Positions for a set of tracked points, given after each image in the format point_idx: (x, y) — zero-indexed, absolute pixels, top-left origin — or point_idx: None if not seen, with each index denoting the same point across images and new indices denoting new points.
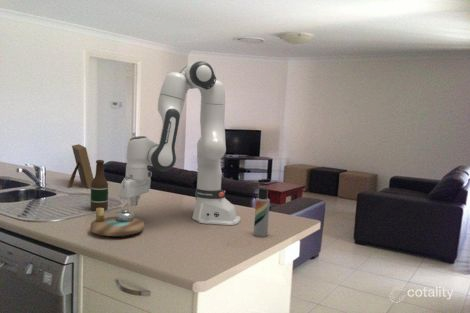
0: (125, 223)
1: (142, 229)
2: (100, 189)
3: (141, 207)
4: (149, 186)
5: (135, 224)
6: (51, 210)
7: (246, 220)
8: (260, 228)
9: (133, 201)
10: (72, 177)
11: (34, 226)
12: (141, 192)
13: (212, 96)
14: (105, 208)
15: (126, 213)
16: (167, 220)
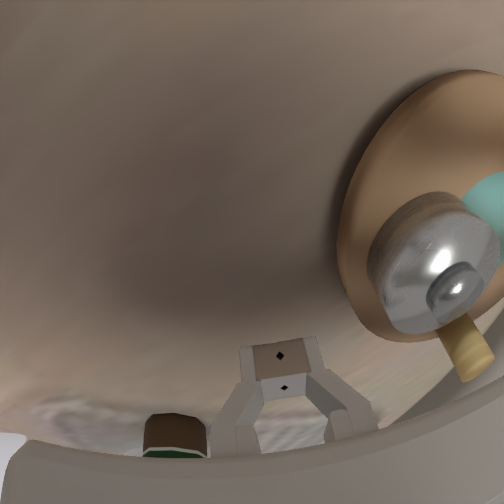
0: (491, 195)
1: (469, 70)
2: None
3: (19, 359)
4: (14, 497)
5: (498, 127)
6: (267, 451)
7: None
8: None
9: (338, 385)
10: None
11: (414, 395)
12: (223, 488)
13: None
14: (167, 421)
15: (474, 262)
16: (42, 90)
